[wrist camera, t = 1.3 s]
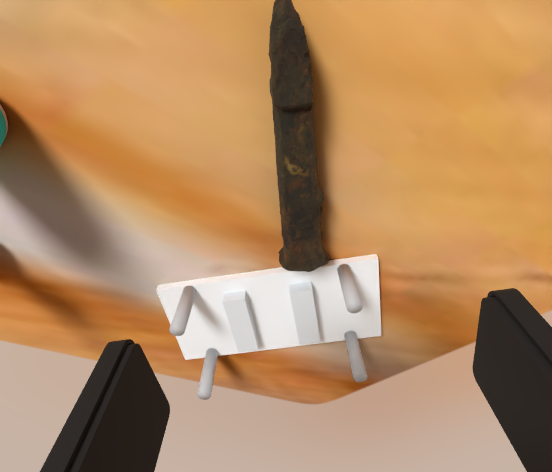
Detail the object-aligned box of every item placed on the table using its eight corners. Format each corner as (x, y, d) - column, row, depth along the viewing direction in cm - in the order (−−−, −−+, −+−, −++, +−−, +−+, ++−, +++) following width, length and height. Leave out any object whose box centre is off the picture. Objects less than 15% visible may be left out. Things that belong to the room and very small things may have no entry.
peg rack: (376, 253, 32) (394, 296, 27) (379, 329, 37) (395, 378, 32) (158, 284, 34) (138, 329, 29) (187, 353, 39) (173, 403, 34)
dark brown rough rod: (324, 247, 33) (331, 279, 28) (279, 250, 33) (280, 281, 29) (327, -9, 23) (339, -17, 19) (264, -5, 23) (262, -12, 19)
